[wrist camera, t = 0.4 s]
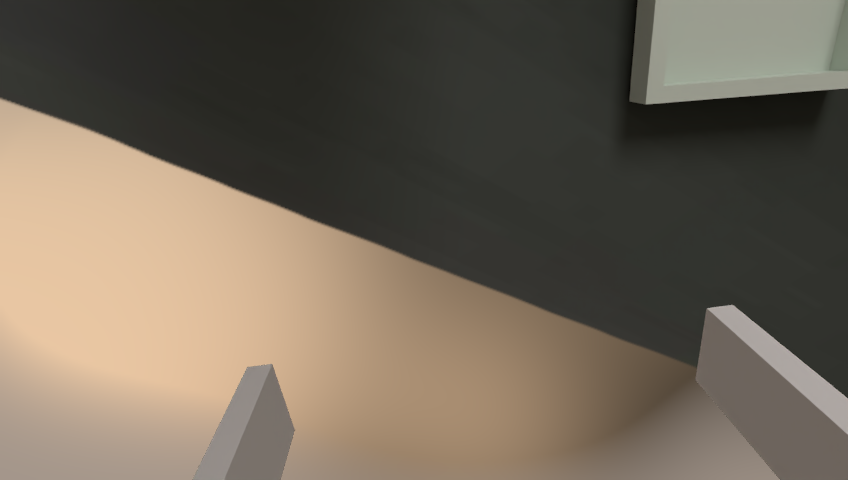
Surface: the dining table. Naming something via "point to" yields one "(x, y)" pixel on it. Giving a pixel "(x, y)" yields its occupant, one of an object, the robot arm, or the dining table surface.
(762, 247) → the dining table surface
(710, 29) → the parts tray
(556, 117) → the dining table surface
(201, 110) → the dining table surface
